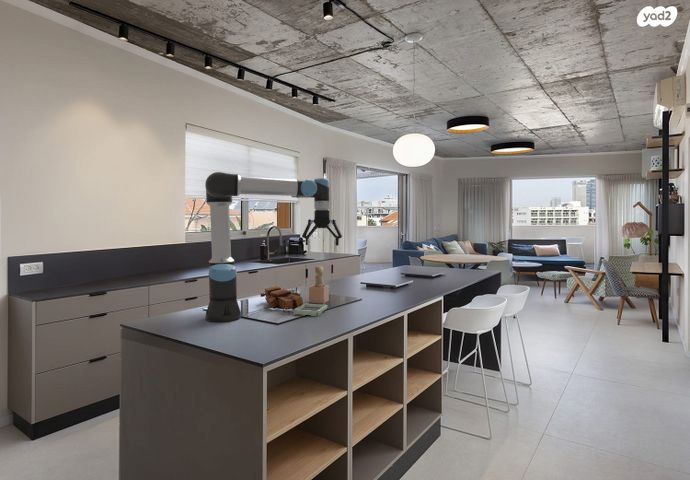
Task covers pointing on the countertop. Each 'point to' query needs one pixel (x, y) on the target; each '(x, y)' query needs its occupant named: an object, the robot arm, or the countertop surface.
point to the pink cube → (318, 294)
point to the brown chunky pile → (282, 298)
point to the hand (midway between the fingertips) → (322, 252)
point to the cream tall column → (318, 276)
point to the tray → (310, 312)
